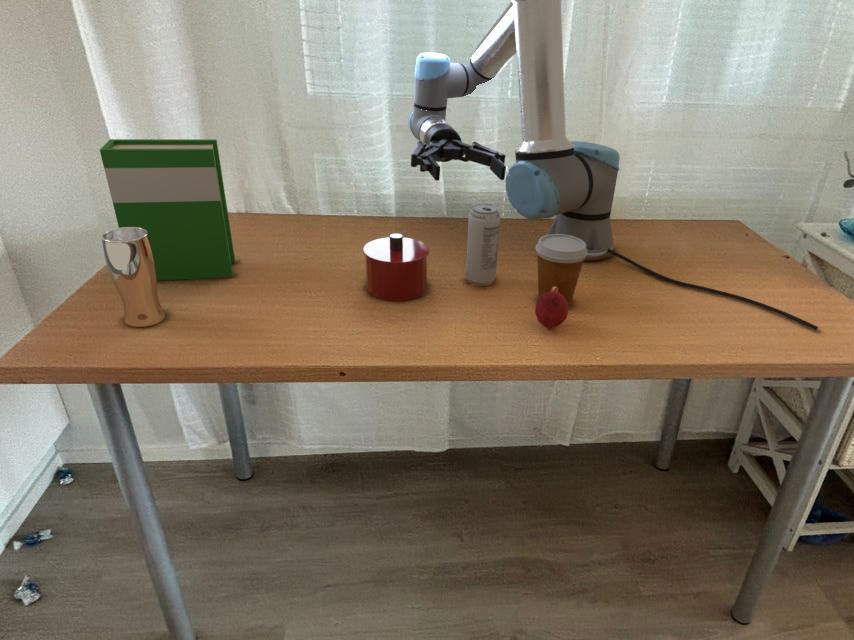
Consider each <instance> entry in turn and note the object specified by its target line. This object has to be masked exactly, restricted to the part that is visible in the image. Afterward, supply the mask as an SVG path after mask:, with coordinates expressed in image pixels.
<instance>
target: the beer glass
mask: <svg viewBox="0 0 854 640" xmlns="http://www.w3.org/2000/svg"><path fill="white" fill-rule="evenodd" d="M100 239H101V244H102V249H103V255H104V258H105V259H104V260H105V263H106V267H107V270H108V272H109V275H110V277H111V279H112V281H113V283H114V286H115V288H116V289H117V292H118V294H119V296H120V298H121V300H122V305H123V311H124V322H125V324H126V325H127V326H129V327H133V328H147V327H151V326H155V325H158V324H159V323H161V322H162V321H164V319H165V317H166V315H165V312H164V309H163V306H162V305H161V303H160V300H159V296H158V280H157V270H156V261H155V256H154V252H153V248H152V245H151V242H150V239H149V236H148V232H147V230H145V229H143V228H140V227H121V228H119V227H115V228H112V229H109V230H106V231H104V232H103V233H102V234H101V235H100Z"/></svg>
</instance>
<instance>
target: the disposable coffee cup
mask: <svg viewBox="0 0 854 640" xmlns="http://www.w3.org/2000/svg"><path fill="white" fill-rule="evenodd" d="M535 251H536V255H537V296H538V297H537V300H538V299H539V298H540V297H541V296H542V295H543V294H545V293H547V292H549V291H550V290H551V289H552V287H554V286H556V287H557V288H559V289H558V292H559V293H561V294H562V295H563V296H564V297H565V299H566V301H567V303H568V307H569V308H570V306H571V305H572V302H573V298H574V294H575V291H576V288H577V285H578V281H579V278H580V275H581V270H582V269H583V268H582V267H583V263H584V262H585V261H584V259H585V257H586V256H587V254H588V251H587V249H586V243H585V242H584V241H583V240H581V239H579V238H577V237H574V236H570V235H564V234H550V235H547V234H546V235H543V236H542V235H541V237H540V238H539V239H538V242H537V243H536V244H535Z"/></svg>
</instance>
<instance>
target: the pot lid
mask: <svg viewBox="0 0 854 640" xmlns="http://www.w3.org/2000/svg"><path fill="white" fill-rule="evenodd" d="M362 252H363V255H364V257H365V256H366V257H367V258H368V259H370V260H373V261H375V262H379V263H383V264H392V265H403V264H411V263H415V262H419V261H421V260H423V259H425V258H426V257H427V258H428V256H429V255H430V248H429V246H428V245H427V244H426V243H424V242H422V241H421V240H418V239H414V238H410V237H404V235H403V234H402V233H390V235H389V236H388V237H380V238H376V239H374V240H370V241H369V242H367V243H366V244H364V246H363V249H362Z"/></svg>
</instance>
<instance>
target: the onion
mask: <svg viewBox="0 0 854 640" xmlns="http://www.w3.org/2000/svg"><path fill="white" fill-rule="evenodd" d="M558 289H559V288H557V287H556V286H554V287H552V289H551V290H550V291H549V292H547V293H545V294H543V295H542V296H541V297H540V298H539V299H538V298H537V301H536V304H535V307H534V315H535V317H536V319H537V321H538V323H540V324H541V326H543V327H544V328H546V329H548V330H551V329H554V328H556V327H559V326H560V325H562V324H563V323H564V322H565V321H566V320H567V318H568V316H569V308H570V306H569V307H568V303H567V301H566V299H565V297H564V296H563V295H562V294H561V293H559V292H558Z"/></svg>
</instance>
